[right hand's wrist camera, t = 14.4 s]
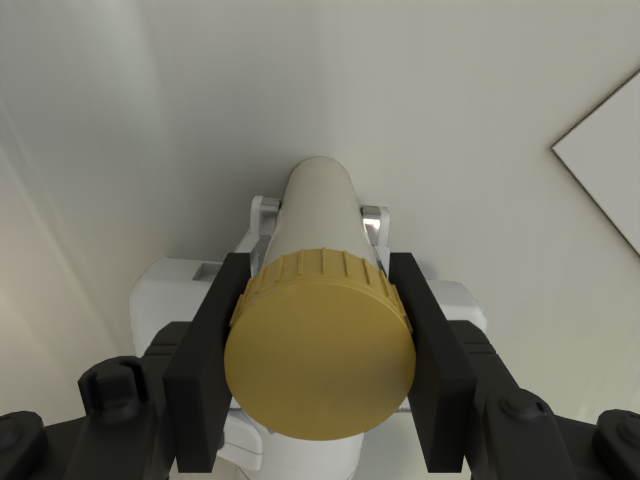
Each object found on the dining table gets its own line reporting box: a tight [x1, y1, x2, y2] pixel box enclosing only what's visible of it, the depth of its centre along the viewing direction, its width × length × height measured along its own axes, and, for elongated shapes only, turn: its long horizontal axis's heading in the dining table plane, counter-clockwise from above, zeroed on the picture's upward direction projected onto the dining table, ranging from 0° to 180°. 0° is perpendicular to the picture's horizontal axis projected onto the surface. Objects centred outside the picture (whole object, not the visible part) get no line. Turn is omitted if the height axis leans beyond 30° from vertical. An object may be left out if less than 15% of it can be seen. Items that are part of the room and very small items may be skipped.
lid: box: [224, 247, 416, 441], centre depth 12 cm, size 5×5×2 cm
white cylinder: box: [260, 157, 380, 271], centre depth 20 cm, size 4×4×19 cm
